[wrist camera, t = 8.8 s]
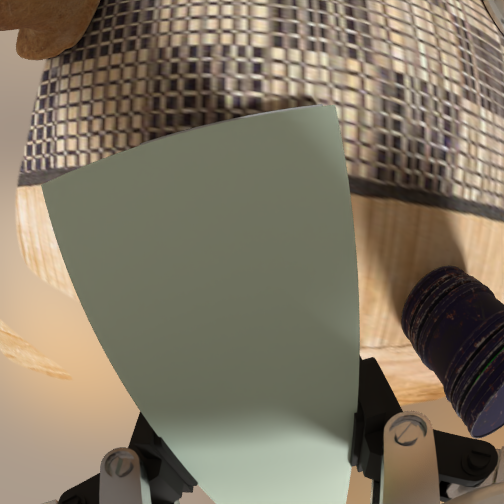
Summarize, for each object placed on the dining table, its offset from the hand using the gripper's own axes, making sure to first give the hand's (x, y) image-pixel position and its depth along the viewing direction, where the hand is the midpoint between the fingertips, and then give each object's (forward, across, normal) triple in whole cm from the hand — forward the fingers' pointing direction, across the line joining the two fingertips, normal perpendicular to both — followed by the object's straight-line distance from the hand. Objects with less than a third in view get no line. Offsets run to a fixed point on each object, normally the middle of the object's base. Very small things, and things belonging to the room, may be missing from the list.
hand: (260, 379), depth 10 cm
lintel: (+1, 0, 0) cm, 1 cm away
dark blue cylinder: (+16, -18, +11) cm, 26 cm away
